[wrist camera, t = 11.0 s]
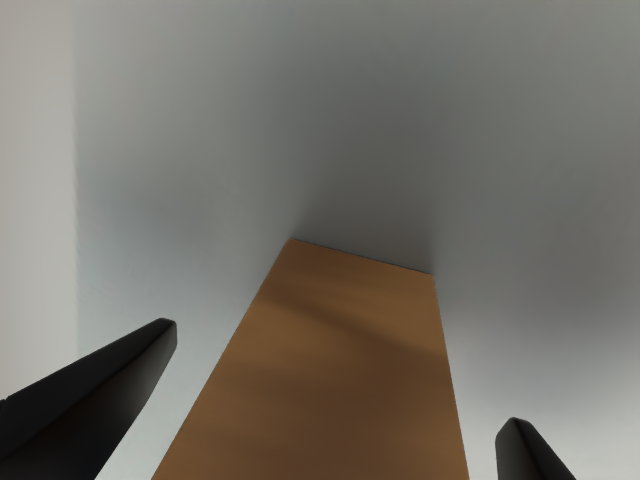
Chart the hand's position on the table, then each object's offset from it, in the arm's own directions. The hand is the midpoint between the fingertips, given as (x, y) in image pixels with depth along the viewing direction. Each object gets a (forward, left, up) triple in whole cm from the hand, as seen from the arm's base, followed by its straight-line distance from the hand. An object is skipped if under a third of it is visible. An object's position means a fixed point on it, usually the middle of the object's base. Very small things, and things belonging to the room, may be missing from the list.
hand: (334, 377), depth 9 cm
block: (0, 0, -3) cm, 3 cm away
